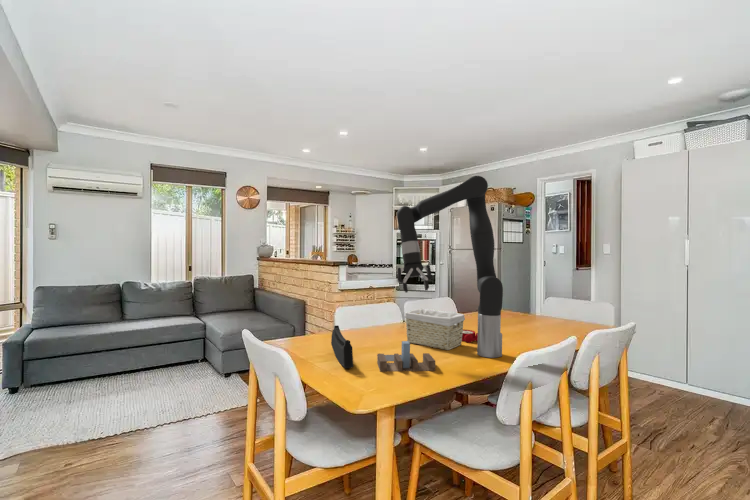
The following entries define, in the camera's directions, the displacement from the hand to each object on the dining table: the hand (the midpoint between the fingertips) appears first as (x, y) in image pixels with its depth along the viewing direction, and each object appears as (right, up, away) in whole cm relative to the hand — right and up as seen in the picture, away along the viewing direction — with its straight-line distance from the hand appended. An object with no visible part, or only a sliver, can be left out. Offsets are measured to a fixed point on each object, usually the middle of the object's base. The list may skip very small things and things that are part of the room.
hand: (416, 291), depth 163 cm
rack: (-6, -26, -18) cm, 32 cm away
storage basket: (+10, -27, +19) cm, 35 cm away
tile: (-6, -26, -18) cm, 32 cm away
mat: (-11, -26, -6) cm, 29 cm away
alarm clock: (+28, -27, +29) cm, 48 cm away
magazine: (-31, -26, -8) cm, 41 cm away
